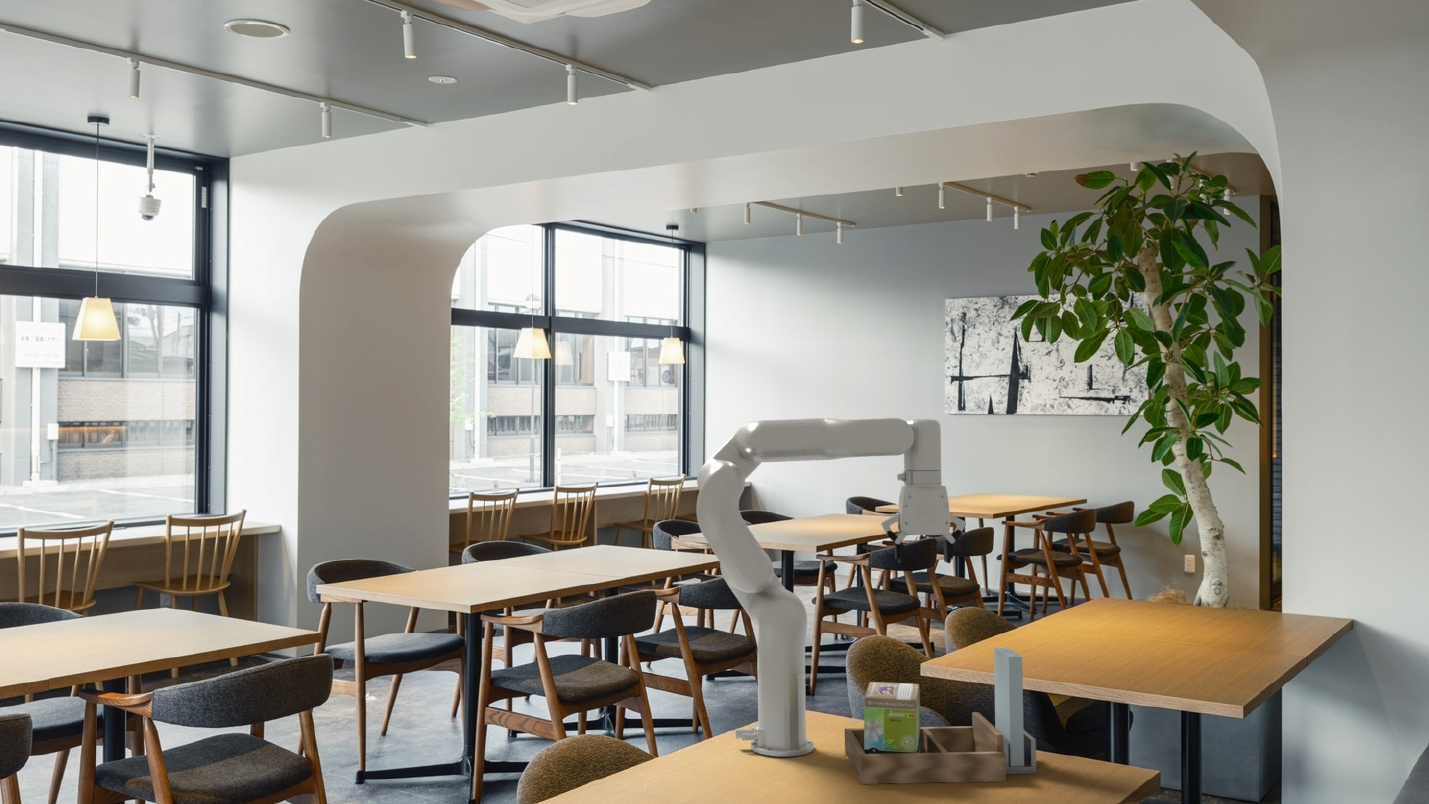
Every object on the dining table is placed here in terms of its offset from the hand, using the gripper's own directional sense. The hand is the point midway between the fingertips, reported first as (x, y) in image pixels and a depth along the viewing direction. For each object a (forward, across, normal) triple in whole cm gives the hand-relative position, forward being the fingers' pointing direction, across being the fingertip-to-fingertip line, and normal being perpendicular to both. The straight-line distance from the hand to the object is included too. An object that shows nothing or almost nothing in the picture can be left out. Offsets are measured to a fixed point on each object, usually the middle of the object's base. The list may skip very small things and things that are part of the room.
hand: (924, 562), depth 237 cm
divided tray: (+36, -5, -18) cm, 41 cm away
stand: (+36, +12, -18) cm, 42 cm away
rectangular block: (+35, +12, -18) cm, 41 cm away
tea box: (+37, -10, -18) cm, 42 cm away
